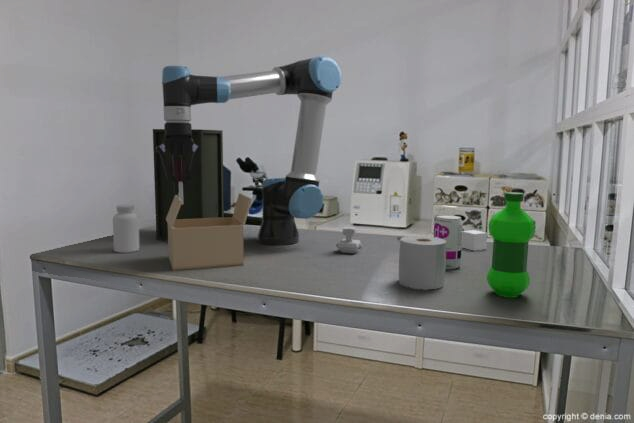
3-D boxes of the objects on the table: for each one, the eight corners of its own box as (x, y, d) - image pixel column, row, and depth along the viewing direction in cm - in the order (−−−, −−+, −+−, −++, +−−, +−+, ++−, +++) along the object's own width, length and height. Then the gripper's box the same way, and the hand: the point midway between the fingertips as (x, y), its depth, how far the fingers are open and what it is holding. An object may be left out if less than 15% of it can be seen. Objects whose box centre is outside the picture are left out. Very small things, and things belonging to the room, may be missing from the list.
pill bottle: (131, 253, 161) (129, 207, 159) (108, 252, 162) (106, 206, 160) (144, 248, 169) (142, 204, 166) (123, 247, 170) (121, 203, 168)
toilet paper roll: (396, 276, 138) (398, 235, 137) (441, 278, 137) (443, 236, 136) (399, 289, 127) (401, 244, 125) (448, 291, 125) (450, 245, 124)
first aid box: (224, 233, 197) (222, 130, 191) (203, 242, 179) (200, 129, 174) (181, 231, 201) (178, 130, 196) (156, 239, 183) (152, 129, 178)
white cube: (473, 246, 179) (474, 230, 178) (486, 249, 174) (487, 232, 173) (460, 248, 176) (461, 231, 176) (473, 251, 171) (474, 234, 170)
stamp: (364, 251, 169) (364, 226, 168) (360, 255, 163) (361, 230, 161) (338, 249, 171) (338, 225, 170) (333, 253, 165) (334, 228, 164)
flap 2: (232, 217, 161) (234, 217, 161) (242, 224, 147) (244, 225, 147) (239, 192, 160) (240, 193, 161) (250, 198, 147) (251, 198, 147)
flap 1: (177, 195, 154) (175, 194, 153) (182, 201, 140) (180, 200, 140) (167, 219, 154) (165, 219, 153) (172, 228, 140) (170, 227, 140)
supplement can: (445, 271, 145) (447, 219, 142) (426, 264, 152) (428, 215, 150) (466, 268, 148) (469, 218, 146) (447, 261, 156) (449, 214, 153)
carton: (232, 253, 163) (232, 217, 161) (243, 265, 148) (243, 225, 147) (168, 258, 156) (167, 219, 154) (173, 270, 141) (172, 228, 139)
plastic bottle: (476, 289, 127) (482, 191, 124) (513, 287, 129) (520, 190, 126) (499, 301, 117) (506, 195, 114) (539, 299, 120) (547, 195, 116)
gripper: (155, 121, 138) (159, 206, 141) (202, 122, 142) (204, 204, 146) (153, 122, 145) (157, 203, 148) (198, 122, 149) (201, 201, 153)
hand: (181, 203), depth 147 cm, fingers closed
